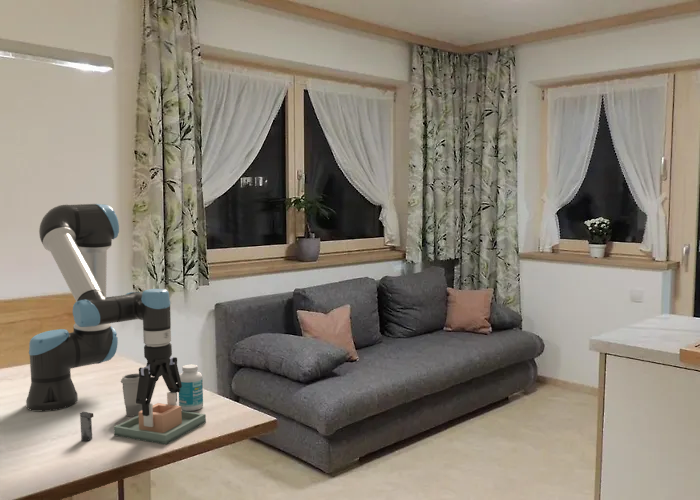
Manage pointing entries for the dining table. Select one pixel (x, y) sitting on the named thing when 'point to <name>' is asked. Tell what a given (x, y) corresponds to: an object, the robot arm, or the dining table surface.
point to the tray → (132, 431)
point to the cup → (131, 394)
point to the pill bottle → (191, 388)
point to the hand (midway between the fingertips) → (160, 420)
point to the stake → (86, 426)
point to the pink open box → (162, 418)
